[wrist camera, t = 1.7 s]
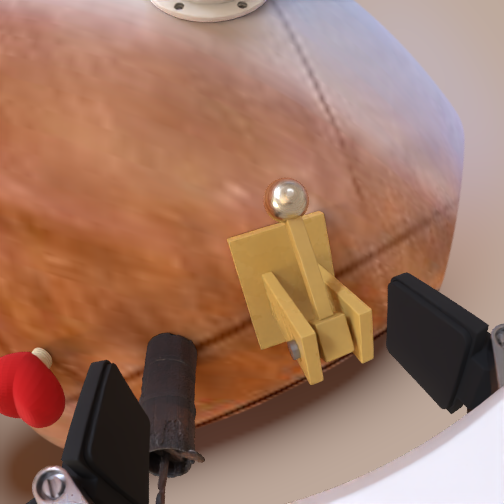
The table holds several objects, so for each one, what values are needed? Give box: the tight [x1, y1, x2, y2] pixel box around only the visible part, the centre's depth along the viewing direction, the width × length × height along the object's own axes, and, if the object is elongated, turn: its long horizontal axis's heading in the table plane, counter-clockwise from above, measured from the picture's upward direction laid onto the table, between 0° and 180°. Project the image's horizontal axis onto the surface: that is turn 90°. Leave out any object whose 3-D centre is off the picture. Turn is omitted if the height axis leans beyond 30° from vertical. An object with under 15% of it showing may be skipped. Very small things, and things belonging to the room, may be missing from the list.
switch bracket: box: [227, 211, 373, 385], centre depth 24 cm, size 12×9×12 cm
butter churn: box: [139, 333, 205, 504], centre depth 16 cm, size 9×10×28 cm
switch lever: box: [263, 178, 355, 362], centre depth 21 cm, size 13×3×3 cm, turn 15°
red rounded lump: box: [0, 348, 65, 428], centre depth 22 cm, size 9×7×10 cm
